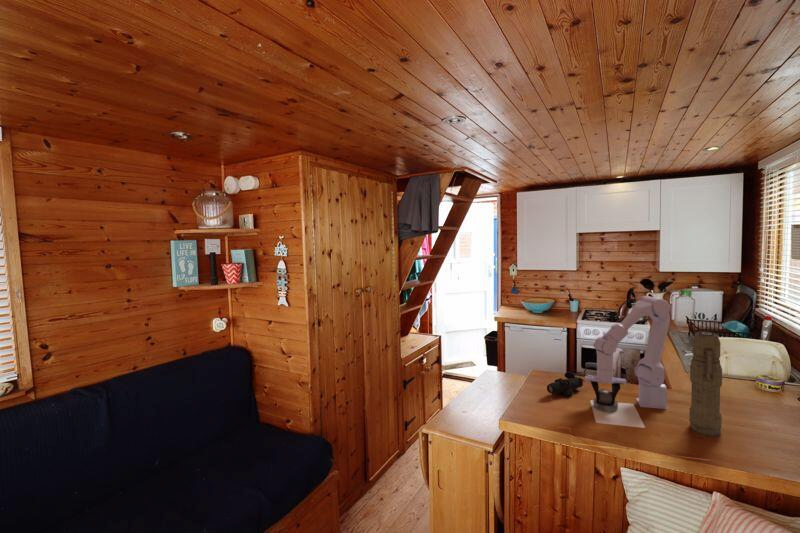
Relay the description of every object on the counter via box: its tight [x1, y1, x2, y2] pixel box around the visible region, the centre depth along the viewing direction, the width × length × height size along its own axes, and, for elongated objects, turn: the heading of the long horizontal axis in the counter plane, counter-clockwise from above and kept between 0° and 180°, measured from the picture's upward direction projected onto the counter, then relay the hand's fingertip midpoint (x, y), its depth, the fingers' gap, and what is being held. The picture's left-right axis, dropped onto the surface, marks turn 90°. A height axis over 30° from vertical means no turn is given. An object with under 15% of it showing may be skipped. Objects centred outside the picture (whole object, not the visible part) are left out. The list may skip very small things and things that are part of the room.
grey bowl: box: [592, 397, 619, 413], centre depth 157 cm, size 8×8×3 cm
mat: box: [589, 399, 646, 429], centre depth 152 cm, size 16×20×1 cm
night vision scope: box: [546, 371, 585, 398], centre depth 173 cm, size 8×18×10 cm
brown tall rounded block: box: [688, 330, 723, 438], centre depth 136 cm, size 9×12×35 cm
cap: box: [598, 389, 613, 405], centre depth 156 cm, size 5×5×5 cm
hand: (605, 400), depth 157 cm, fingers closed on cap, 5 cm apart
